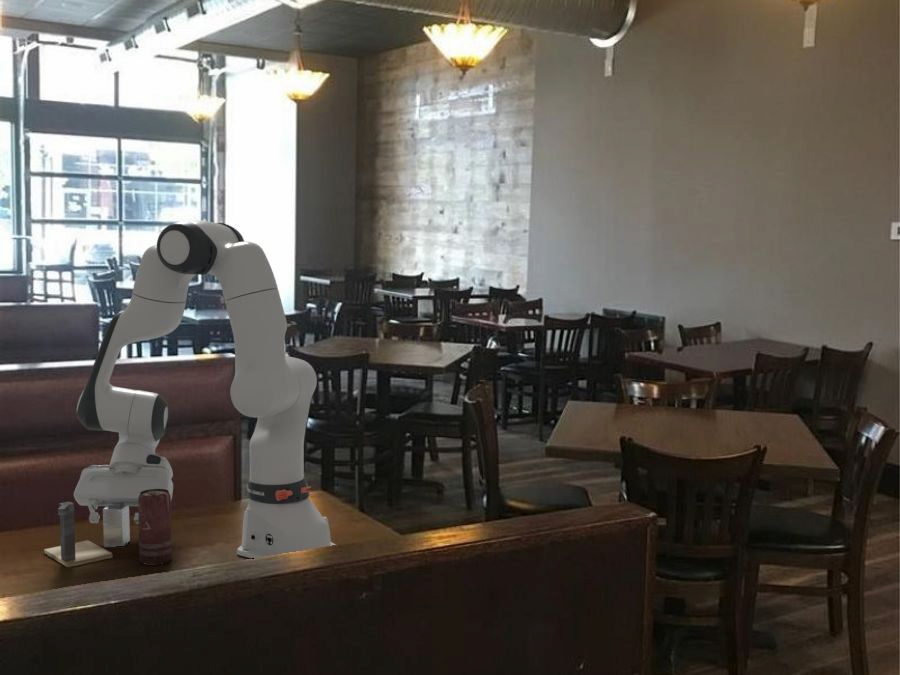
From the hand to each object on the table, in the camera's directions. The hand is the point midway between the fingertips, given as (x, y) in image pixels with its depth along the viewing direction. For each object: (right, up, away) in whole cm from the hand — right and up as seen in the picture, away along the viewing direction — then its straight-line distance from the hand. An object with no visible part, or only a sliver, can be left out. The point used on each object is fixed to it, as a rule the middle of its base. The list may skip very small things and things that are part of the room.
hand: (115, 522), depth 199 cm
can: (+12, -6, -10) cm, 17 cm away
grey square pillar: (0, -5, +1) cm, 5 cm away
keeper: (-5, -5, -8) cm, 11 cm away
